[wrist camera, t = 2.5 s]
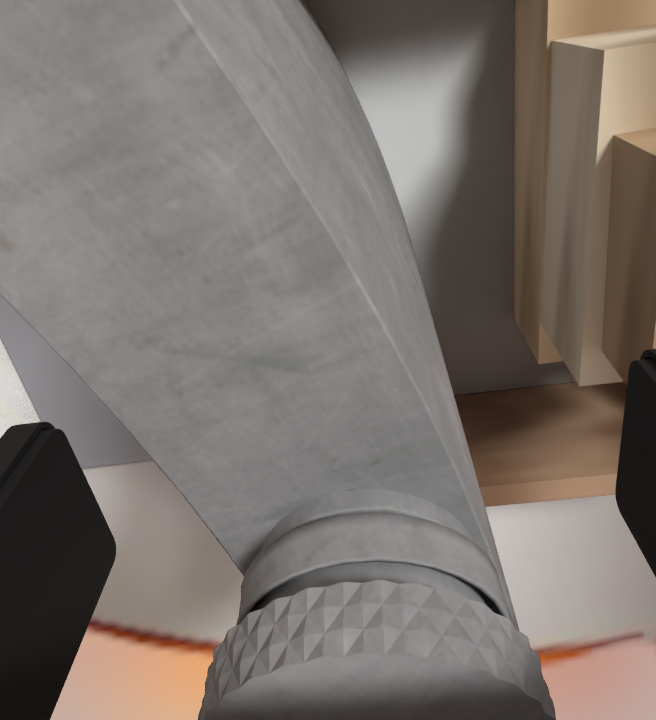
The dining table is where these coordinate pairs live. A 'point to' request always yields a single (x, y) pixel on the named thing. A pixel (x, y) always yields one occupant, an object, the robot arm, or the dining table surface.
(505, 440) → the wooden tray
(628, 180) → the offcut top
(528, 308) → the offcut base
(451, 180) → the dining table surface
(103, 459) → the felt pad
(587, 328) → the offcut mid
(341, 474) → the hip flask
